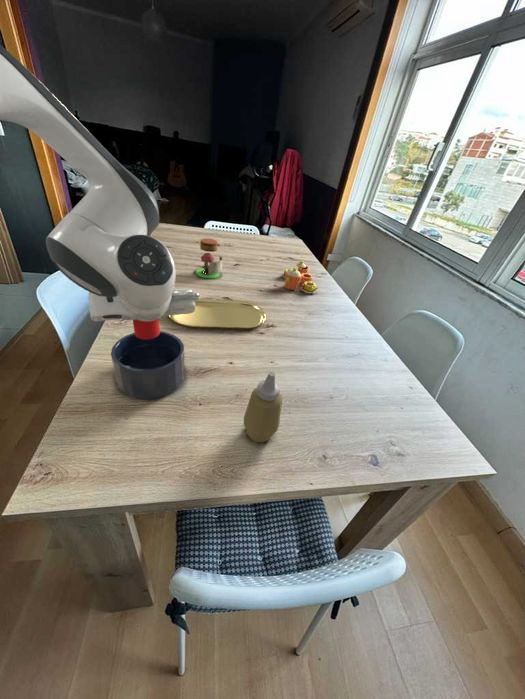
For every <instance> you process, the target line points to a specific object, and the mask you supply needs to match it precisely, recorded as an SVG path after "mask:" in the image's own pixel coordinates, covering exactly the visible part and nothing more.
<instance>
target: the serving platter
mask: <svg viewBox="0 0 525 699" xmlns="http://www.w3.org/2000/svg"><path fill="white" fill-rule="evenodd" d="M167 317H169V319H170V320H172V321H173V322H174V323H176V324H178V325H180V326H183V327H188V328H201V329H202V328H204V329H234V330H235V329H237V330H242V329H243V330H247V329H249V330H250V329H254V328H257V327H259V326H261V325H262V324H264V322H265V321H266V319H267V315H266V312H265V311H264V309H262V308H261V307H260V306H258V305H256V304H254V303H251V302H247V301H242V300H227V299H226V300H225V299H224V300H223V299H204V298H199V300H198V301H195V311H194V312H193V313H190V314H180V315H167Z"/></svg>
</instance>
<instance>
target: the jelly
mask: <svg viewBox="0 0 525 699" xmlns="http://www.w3.org/2000/svg"><path fill="white" fill-rule="evenodd" d="M132 325H133V333H135V336H136V337H138V338H140V339H153V338H155V337H157V336H158V335H159V334H160V331H161V327H160V326H161V325H160V318H159V319H156V320H153V321H139V320H132Z"/></svg>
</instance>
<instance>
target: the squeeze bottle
mask: <svg viewBox="0 0 525 699" xmlns="http://www.w3.org/2000/svg"><path fill="white" fill-rule="evenodd" d="M282 406H283V396H282V394H281V387H280V385H279V384H278V383H277V382H276V373H275V372H274V371H270V372H268V374H267V376H266V378H265V379H263V380H261V381H259V382H258V384H257V386H256V387H255V388H254V389H253V390H252V392H251V394H250V397H249V400H248V404H247V406H246V409H245V412H244V416H243V425H244V429H245V431H246V434H247V436H248V437H249V439H250V440H252V441H254V442H256V443H264V442H267V441H269V440H270V439H271V438H272V437H273V436H274V435H275V434H276V433H277V432H278V430H279V427H280V422H281V413H282Z"/></svg>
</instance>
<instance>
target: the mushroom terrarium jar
mask: <svg viewBox="0 0 525 699" xmlns="http://www.w3.org/2000/svg"><path fill="white" fill-rule="evenodd" d="M218 244H219V242H218V241H217V240H216V239H214V238H207V237H206V238H201V239H200V248H199V249H200V250H201V251H204V253H203V255H201V256H200V260H201V262H203V263H204V264H203V265H202V267H201V268H199V269H197V270H196V271H195V274H196V276H198V277H199V278H203V279H209V280H210V279H211V280H212V279H217V278H219V277H220V275H221V272H222V271H223V257H222V256H221V255H219V261H215V256H214V255H213V254H212V253H214V252H217V251H218V248H219V247H218V246H219V245H218ZM204 270H205V271H204ZM203 271H204V273H203ZM205 273H206V274H205Z"/></svg>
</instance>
